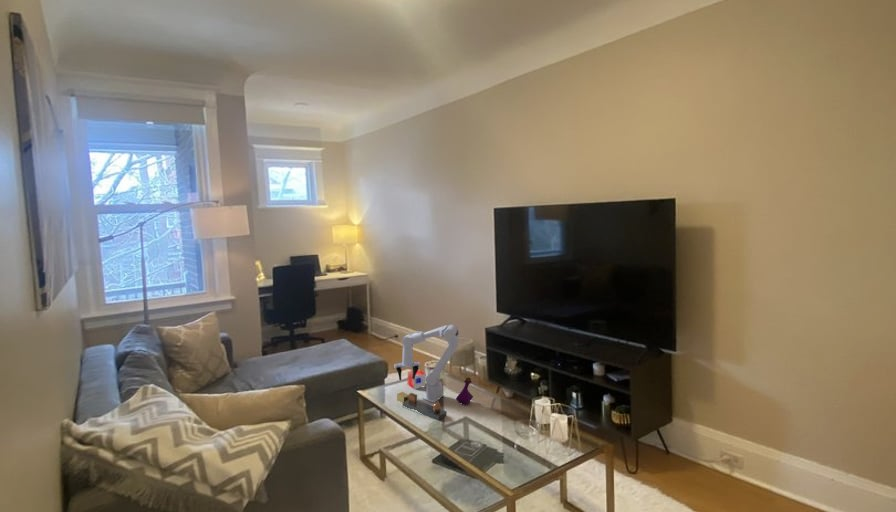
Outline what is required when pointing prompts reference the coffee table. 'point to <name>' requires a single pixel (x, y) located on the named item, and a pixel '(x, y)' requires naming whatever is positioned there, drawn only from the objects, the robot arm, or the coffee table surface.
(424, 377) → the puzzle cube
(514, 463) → the coffee table surface
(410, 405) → the hand plane
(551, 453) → the coffee table surface
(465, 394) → the perfume bottle
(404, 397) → the lever cap
